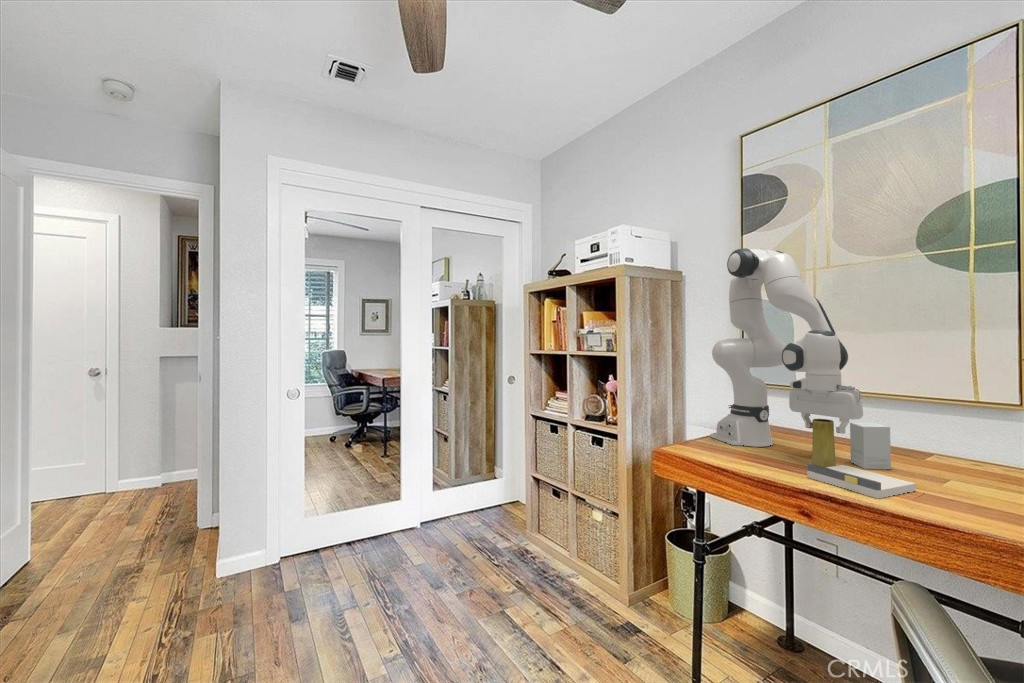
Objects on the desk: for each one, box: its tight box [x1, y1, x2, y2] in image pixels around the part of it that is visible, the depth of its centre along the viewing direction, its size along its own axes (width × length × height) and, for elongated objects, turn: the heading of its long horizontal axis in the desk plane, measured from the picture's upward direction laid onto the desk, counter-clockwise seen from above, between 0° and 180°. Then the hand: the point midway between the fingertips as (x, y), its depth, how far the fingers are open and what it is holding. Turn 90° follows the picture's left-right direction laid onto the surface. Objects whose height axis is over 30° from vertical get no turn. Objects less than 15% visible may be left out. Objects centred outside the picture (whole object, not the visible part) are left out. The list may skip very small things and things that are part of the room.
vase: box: [811, 418, 837, 468], centre depth 134 cm, size 6×6×14 cm
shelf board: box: [806, 463, 917, 500], centre depth 119 cm, size 18×14×4 cm
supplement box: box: [849, 422, 892, 470], centre depth 135 cm, size 7×7×13 cm
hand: (824, 430), depth 134 cm, fingers open, 8 cm apart
